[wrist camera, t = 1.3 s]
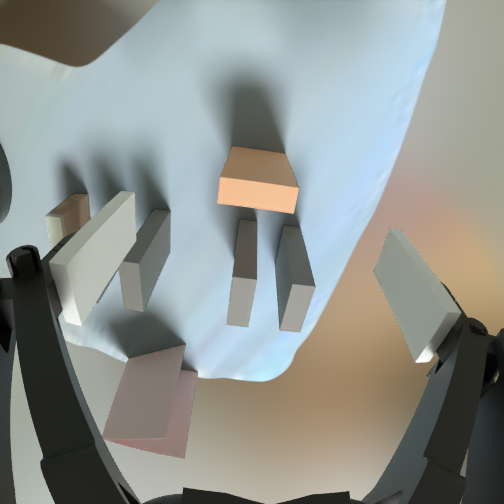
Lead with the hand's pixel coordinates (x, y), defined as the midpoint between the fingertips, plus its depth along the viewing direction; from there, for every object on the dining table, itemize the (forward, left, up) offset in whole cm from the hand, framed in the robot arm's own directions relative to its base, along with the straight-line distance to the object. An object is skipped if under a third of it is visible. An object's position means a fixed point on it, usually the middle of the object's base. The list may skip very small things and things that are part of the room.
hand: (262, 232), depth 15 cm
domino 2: (0, -9, -15) cm, 17 cm away
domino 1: (-9, -9, -15) cm, 20 cm away
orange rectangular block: (0, 0, -15) cm, 15 cm away
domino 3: (+4, -9, -15) cm, 18 cm away
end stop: (-19, -9, -15) cm, 26 cm away
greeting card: (-10, -30, -15) cm, 35 cm away
